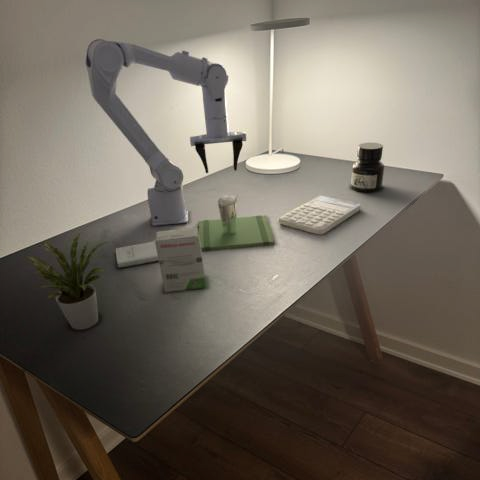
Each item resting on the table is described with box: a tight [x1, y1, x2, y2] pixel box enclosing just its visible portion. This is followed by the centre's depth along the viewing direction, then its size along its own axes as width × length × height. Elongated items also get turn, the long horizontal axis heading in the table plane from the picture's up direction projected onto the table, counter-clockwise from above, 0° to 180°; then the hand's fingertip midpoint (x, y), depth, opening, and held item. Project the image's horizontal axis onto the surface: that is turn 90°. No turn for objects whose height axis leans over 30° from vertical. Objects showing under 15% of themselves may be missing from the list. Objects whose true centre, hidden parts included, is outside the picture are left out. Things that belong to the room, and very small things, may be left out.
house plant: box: [25, 232, 111, 330], centre depth 81 cm, size 14×14×16 cm
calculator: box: [278, 194, 362, 236], centre depth 117 cm, size 13×20×2 cm, turn 139°
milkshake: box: [217, 195, 239, 235], centre depth 108 cm, size 4×5×10 cm
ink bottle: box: [350, 142, 385, 193], centre depth 129 cm, size 10×9×12 cm
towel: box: [198, 214, 276, 252], centre depth 112 cm, size 18×16×1 cm
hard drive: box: [115, 240, 159, 269], centre depth 105 cm, size 2×8×12 cm
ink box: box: [154, 226, 207, 293], centre depth 90 cm, size 9×5×12 cm, turn 96°
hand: (221, 170), depth 121 cm, fingers open, 7 cm apart
